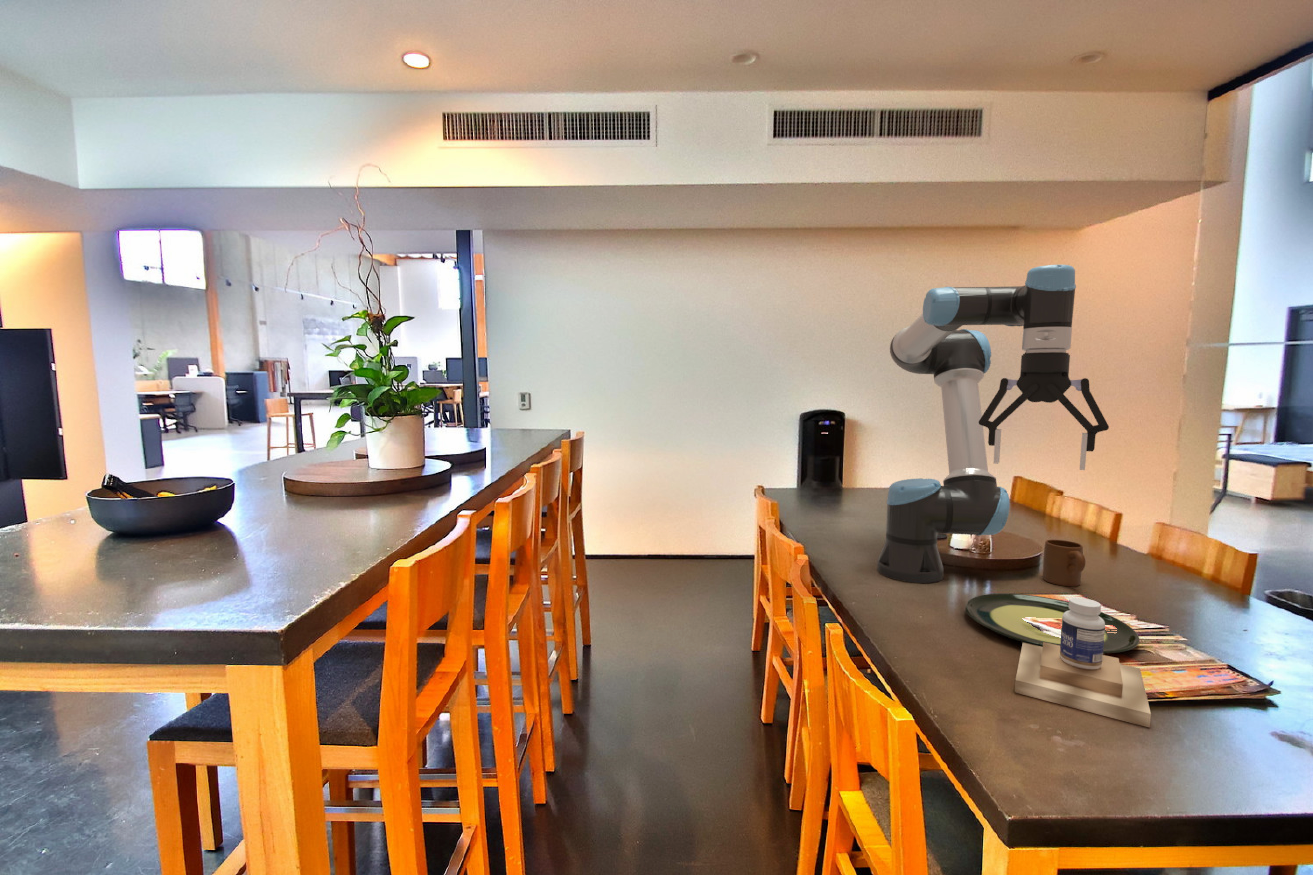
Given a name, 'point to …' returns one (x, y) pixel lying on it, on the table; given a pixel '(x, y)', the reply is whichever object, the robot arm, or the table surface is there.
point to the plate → (1011, 608)
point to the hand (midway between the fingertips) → (1037, 466)
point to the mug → (1063, 562)
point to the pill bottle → (1082, 634)
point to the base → (1083, 696)
